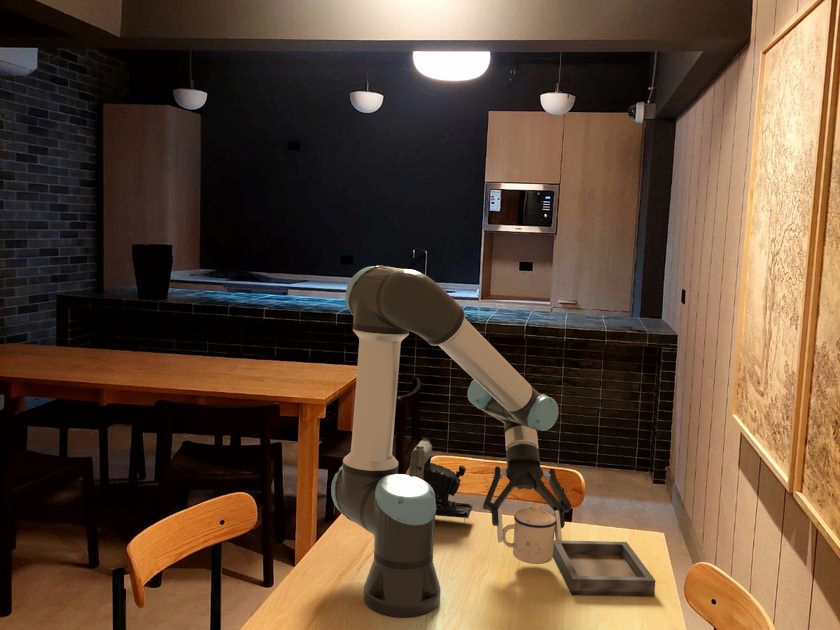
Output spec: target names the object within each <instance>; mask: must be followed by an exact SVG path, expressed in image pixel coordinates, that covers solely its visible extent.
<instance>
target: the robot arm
mask: <svg viewBox="0 0 840 630" xmlns="http://www.w3.org/2000/svg"><path fill="white" fill-rule="evenodd" d="M345 289H346V290H345V305H346V307H347V309H348V310H349V312H350V314H351V315H352V316H353V324H352V331H353V332H354V334H355V335H356V336H357V337H358V340H359V343H358V356H357V365H356V366H357V368H356V379H355V380H356V381H355V382H356V383H355V395H354V404H353V405H354V407H353V409H354V410H353V420H352V421H353V422H352V434H351V436H352V437H351V446H350V447H351V448H350V452H349V453H348V454H346V455H345V456H344V457H343V459H342V465H341V466H340V467H339V468H338V471H337V472H336V473H335V474H334V476H333V479H332V482H331V488H330V489H331V490H330V491H331V498H332V501H333V504H334V506H335V507H336V508H337V510H338V511H339V512H340V513H341V515H342V516H344V517H345V518H346V519H348V520H349V521H351V522H353V523H356V525H358V526H360V527H362V528H363V529H364V530H366V531H368V533H371V535H373V536H374V543H373V544H374V547H373V560H372V562H371V566H370V568H369V572H368V575H367V577H366V579H365V582H364V587H363V601H364V603H365V604H366V605H367V606H368V608H369V609H371V610H372V611H375V612H376V613H378V614H379V613H380V614H382V615H385V616H391V617H397V618H398V617H399V618H407V617H409V618H411V617H417V616H422V615H425V614H427V613H430V612H432V611H434V610H435V609H437V608H438V606H439V604H440V603H441V602H440V601H441V585H440V582H439V577H438V576H437V570H436V568H435V564H434V541H435V540H434V539H435V525H436V524H435V523H436V515H435V512H436V504H435V493H434V490H433V488H432V487H431V486H430V485H429V484H428V483H427V482H426V481H424V480H422V479H420V478H417V477H414V476H413V477H410V476H409V474H401V473H398V472H399V461H398V460H397V458H396V457H395V456H394V455H393V445H394V432H395V418H396V407H397V397H398V396H397V394H398V381H399V368H400V357H401V345H402V344H401V343H402V341H403V340H404V339H405V338H407V337H408V336H409V334H410V332H411V333H414V334H416V335H418V336H419V337H420V338H422V339H423V340H425V342H427V343H428V344H429V345H431V346H432V347H433V346H435V347H436V346H438V347H440V348H441V350H442V351H444V353H446V354H447V355H448V356H449V357H450V358H451V359H452V360H453V361H454V362H455V363H457V364H458V366H459V367H460V368H461V369H463V371H465V372H466V374H468V375H469V376H470V377H471V378H472V379H473V380H471V382H470V385H469V387H468V389H467V399H468V401H469V402H470V403H471V404H472V405H473V406H475V407H476V409H478V410H481V411H483V412H484V413H486V414H487V415H489V416H491V417H493V418H495V419H496V420H498V422H501V423H503V427H504V428H503V429H504V437H505V451H506V452H505V455H506V457H505V458H506V468H500V467H499V466H495V467H494V470H493V477H492V478H493V480H492V481H491V484H490V486H489V489H488V492H487V495H486V497H485V499H484V502H483V505H482V508H483V509H484V510H485V511H487V510H488V511H490V513H491V524H492V527H493V526H495V527H496V529H497V543H503V541H502V540H503V528H504V527H503V511H502V510H503V509H502V508H500V507H502V504H503V503H505V501H506V499H507V498H508V496H509V495H511V492H513V491H514V489H515V488H516V489H518V490H523V489H525V490H529V491H530V490H534V491H535V492H536V493H537V494H539V496H540V497H541V498H542V499H543V500H544V501H545V502H546V504H547V505H548V506H549V507H550V508H551V509H552V510H553V512H554V513H553V515H554V516H555V518H556V524H555V532H554V540H556V544H560V542H561V541H563V534H562V529H564V527H565V523H566V522H565V515H564V514H565V513H569V512H570V510H571V509H572V504H571V502H570V500H569V498H568V497H567V495H566V493H565V491H564V489H563V488H562V486H561V484H560V482H559V480H558V478H557V475H556V470H555V469H554V468H550V469H549V470H543V469H542V468H541V460H540V458H541V457H540V451H539V438H538V431H541V432H543V431H548V430H550V429H551V428H552V427H553V426H554V425H555V423H556V422H557V420H558V417H559V406H558V403H557V402H556V400H555V399H554V398H552V397H550V396H548V395H546V394H541V393H539V392H538V391H537V390H536V389H535V388H534V387H533V386H532V385H531V384H530V383H529V382H528V381H527V380H526V379H525V378H524V377H523V376H522V375H521V374H520V373H519V372H518V371H517V370H516V369H515V368H514V367H513V366H512V365H511V364H510V363H509V362H508V361H507V359H505V357H504V356H502V355H501V354H500V353H499V352H498V350H497V349H496V348H495V347H494V346H492V344H491V343H490V342H489V341H488V340H487V339H486V338H485V337H484V336H483V335H482V334H481V333H480V332H479V331H478V330H477V329H476V328H475V326H473V325H472V323H470V321H468V320H467V319H466V312H465V310H464V308H463V307H462V306H461V305H460V304H459V303H458V301H456V300H455V299H454V298H453V297H452V296H451V295H450V294H449V293H448V292H447V291H446V290H445V289H444V288H442V287H441V285H439V284H438V283H436V282H435V280H433V279H432V278H430V277H429V276H428V275H426V274H424V273H422V272H420V271H417V270H415V269H408V268H399V267H398V268H396V267H391V266H386V265H385V266H384V265H376V266H374V265H373V266H366V267H364V268H361V270H359V271H358V272H356V273H355V274H354V275H353V276H352V277H351V279H350V280H349V281H348V284H347V286H346V288H345ZM504 476H505V477H506V478H507V479H508V480H509V481H508V483H507V485H506V486H505V487H504V488H503V490H502V491H501V493H499V495H498V497H497V498H496V499H495V500H494V502H492V500H493V497H494V495H495V492H496V489H497V487H498V484H499V482H500V480H502V479H503V477H504ZM543 478H544V479H545V480H546V482H548V484H549V486H550V488H551V490H552V492H553V493H552V492H551V491H550V489H548V487H547V486H546V485H545V483H544V481H542V479H543ZM553 494H554V495H553Z"/></svg>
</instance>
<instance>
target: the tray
mask: <svg viewBox="0 0 840 630" xmlns="http://www.w3.org/2000/svg"><path fill="white" fill-rule="evenodd" d="M552 559H553V560H554V562H555V564H556V566H557V568H558V570H559V573H560V575H561V576H562V579H563V581H564V582H565V583H564V584H566V587H567V589H568V591H569V593H570V594H571V596H578V597H579V596H582V597H583V596H585V597H587V596H588V597H634V598H635V597H638V598H639V597H641V598H643V597H645V598H646V597H647V598H654V597H655V592H656V579H655V578H654V577H653V575H652V574H651V572H650V571H649V570H648V568H647V567H646V566H645V564H644V563H643V562H642V561H641V559H640V558H639V556H638V555H637V553H636V552H635V551H634V549H633V548H632V547H631V546H630V544H629V543H628V542H627V541H603V540H602V541H600V540H599V541H597V540H595V541H594V540H593V541H592V540H562V541H561V542H560V544H556V539H554V546H553V558H552Z"/></svg>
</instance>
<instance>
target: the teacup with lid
mask: <svg viewBox="0 0 840 630" xmlns="http://www.w3.org/2000/svg"><path fill="white" fill-rule="evenodd" d="M541 507H542V506H541V505H540V504H539V503H536V502H535V503H531V505H530V506H529V507H527V508H522V509H518V510H517V511H516V512H515V513H514V516H513V519H514V524H507V525H505V526H504V527H503V540H502V543H504V545H505V546H506V547H508V548H511V549H512V554H513V556H514V558H516V559H517V560H518V561H520V562H523V563H526V564H530V565H543V564H546V563H550V562H551V561H552V560H553V559H554V558H553V546H554V540H555V524H556V518H555V516H554V513H552V512H550V511H548V510H545V509H544V508H541ZM513 529H514V530H513ZM509 530H513V542H512V543H511V542H508V541H507V538H506V535H507V532H509Z"/></svg>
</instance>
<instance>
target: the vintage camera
mask: <svg viewBox="0 0 840 630" xmlns="http://www.w3.org/2000/svg"><path fill="white" fill-rule="evenodd" d="M432 451H433V445H432V443H431V441H430V440H429V439H428V438H422V440H420V441H419V442H418V444H417V445H416V446H415V447H414V448H413V450H412V452H411V453H410V460H409V471H408V473H409V474H408V475H409V476H410V477H413V476H414V477H417V478H420V479H422V480H424V481H426V482H427V483H428V484H429V485H430V486H431V487H432V488H433V490H434V493H435V504H436V512H435V516H437V517H447V518H448V517H450V518H460V519H461V518H463V520H464V521H466V519H469V518H470V514H471V512H472V511H473V510H472V509H473V507H474V506H473V505H471V503H467V502H466V503H465V502H464V503H463V502H456V501H455V500H454V501H451V500H449V496H451V497H454V496H455V495H456V494H457V492H458V490H459V488H460V485H461V481H462V479H460V477H463V476H465V473H466V471H467V468H466V467H465V466H464V465H459V467H458V470H457V471H452V470H451V469H450V468H448V467H444V466H442V465H439V464H436V463H433V462H432V461H431V460H432Z"/></svg>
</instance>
